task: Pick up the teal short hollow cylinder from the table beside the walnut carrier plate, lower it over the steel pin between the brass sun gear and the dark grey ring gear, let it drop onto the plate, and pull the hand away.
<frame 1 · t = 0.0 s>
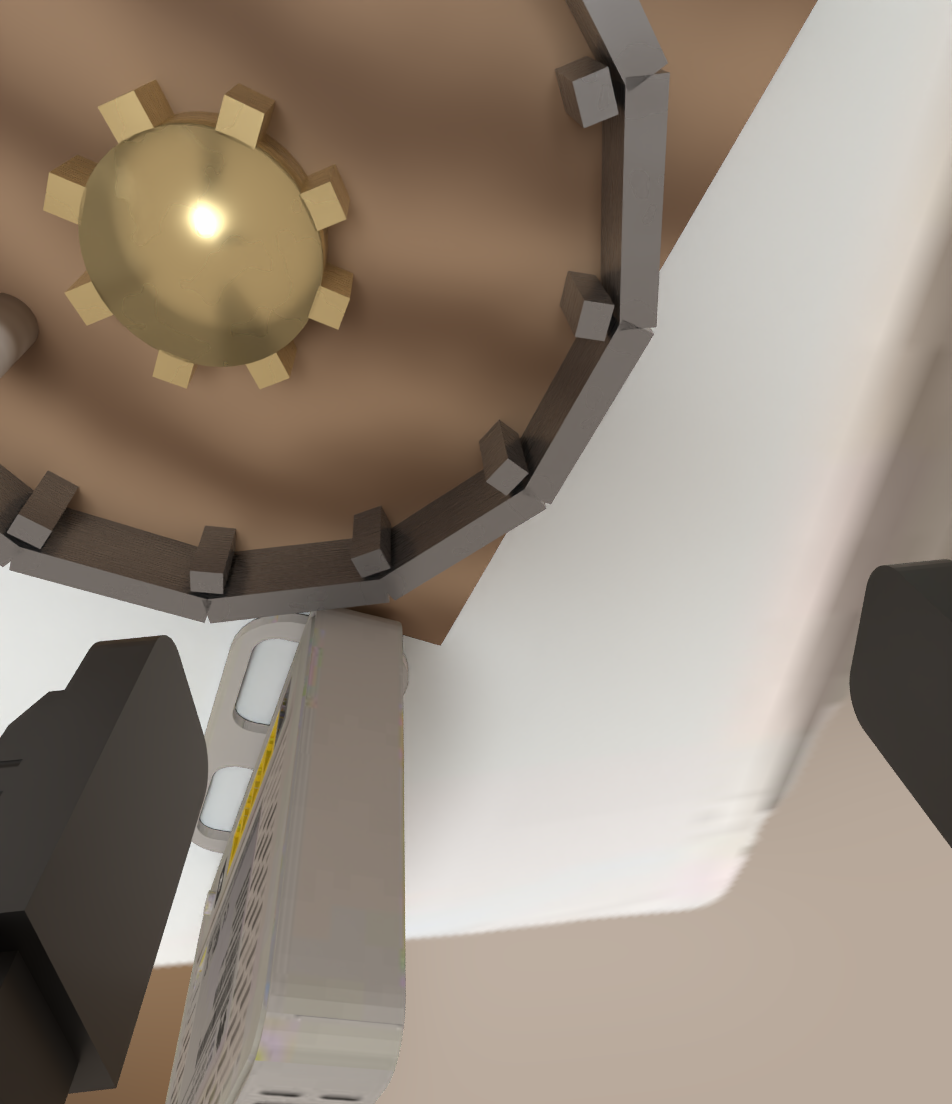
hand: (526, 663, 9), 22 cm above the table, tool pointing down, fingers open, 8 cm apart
carrier plate: (226, 221, 27), on the table
ring gear: (209, 246, 25), point 2 cm above the table
sun gear: (211, 244, 25), in the ring gear, point 2 cm above the table
network device: (288, 745, 43), on the table, touching carrier plate
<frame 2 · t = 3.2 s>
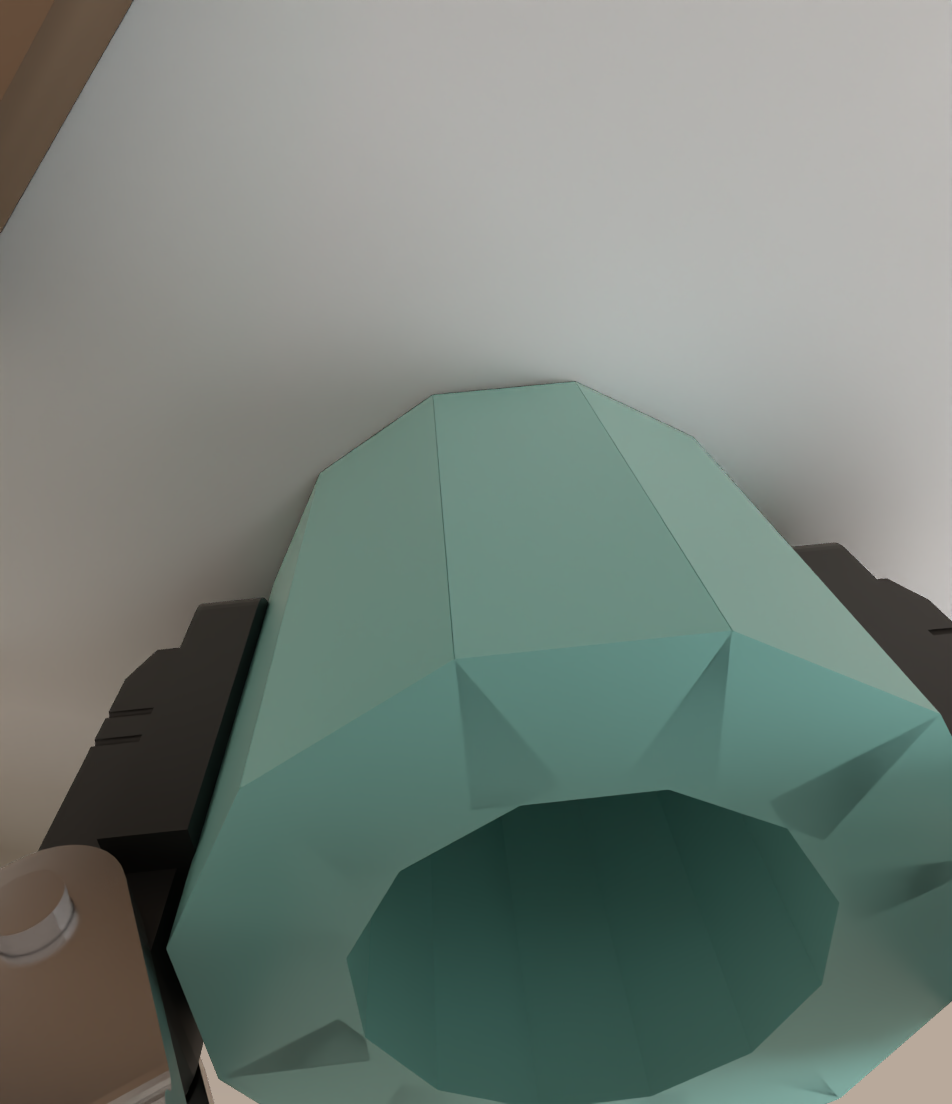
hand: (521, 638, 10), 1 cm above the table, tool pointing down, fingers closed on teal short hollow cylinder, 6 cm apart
teal short hollow cylinder: (517, 612, 10), on the table, touching gripper
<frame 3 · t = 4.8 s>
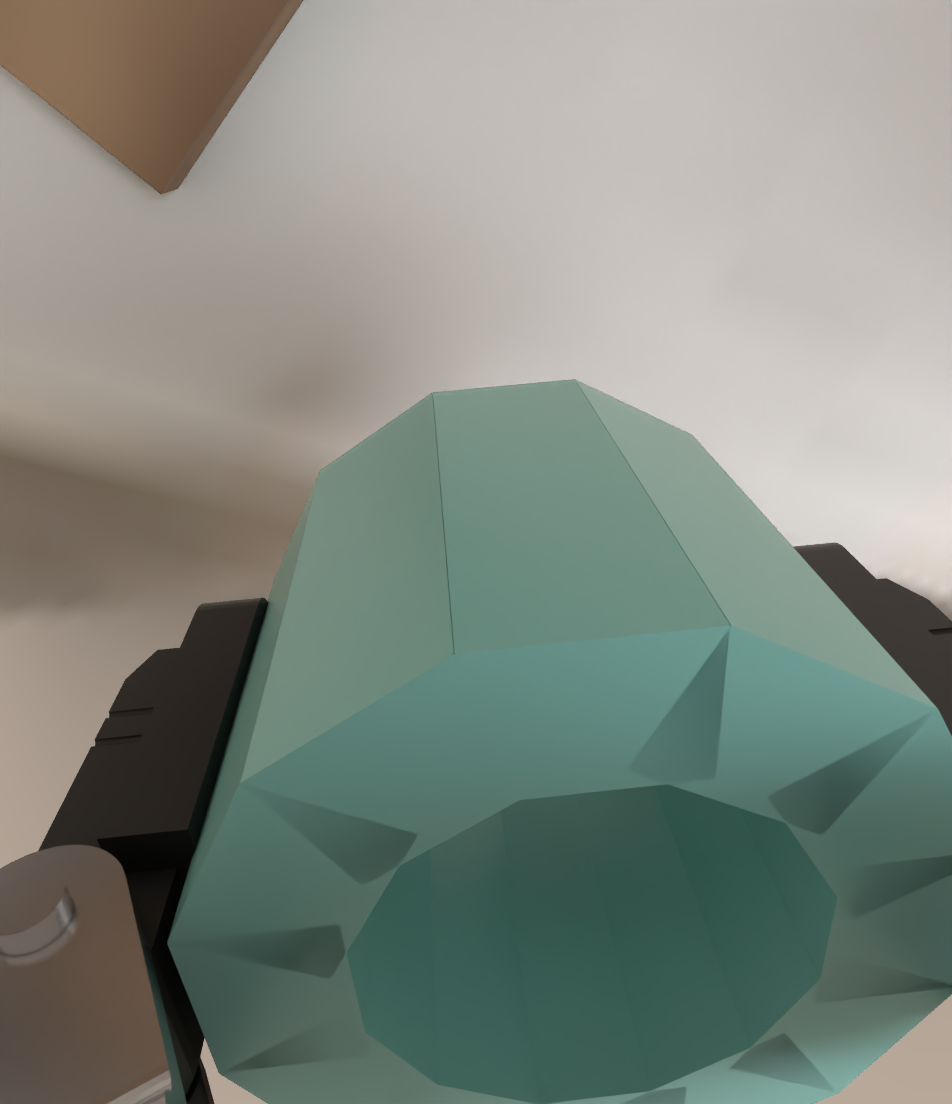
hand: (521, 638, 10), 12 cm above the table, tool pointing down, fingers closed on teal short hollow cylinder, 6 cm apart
teal short hollow cylinder: (516, 610, 10), point 12 cm above the table, touching gripper
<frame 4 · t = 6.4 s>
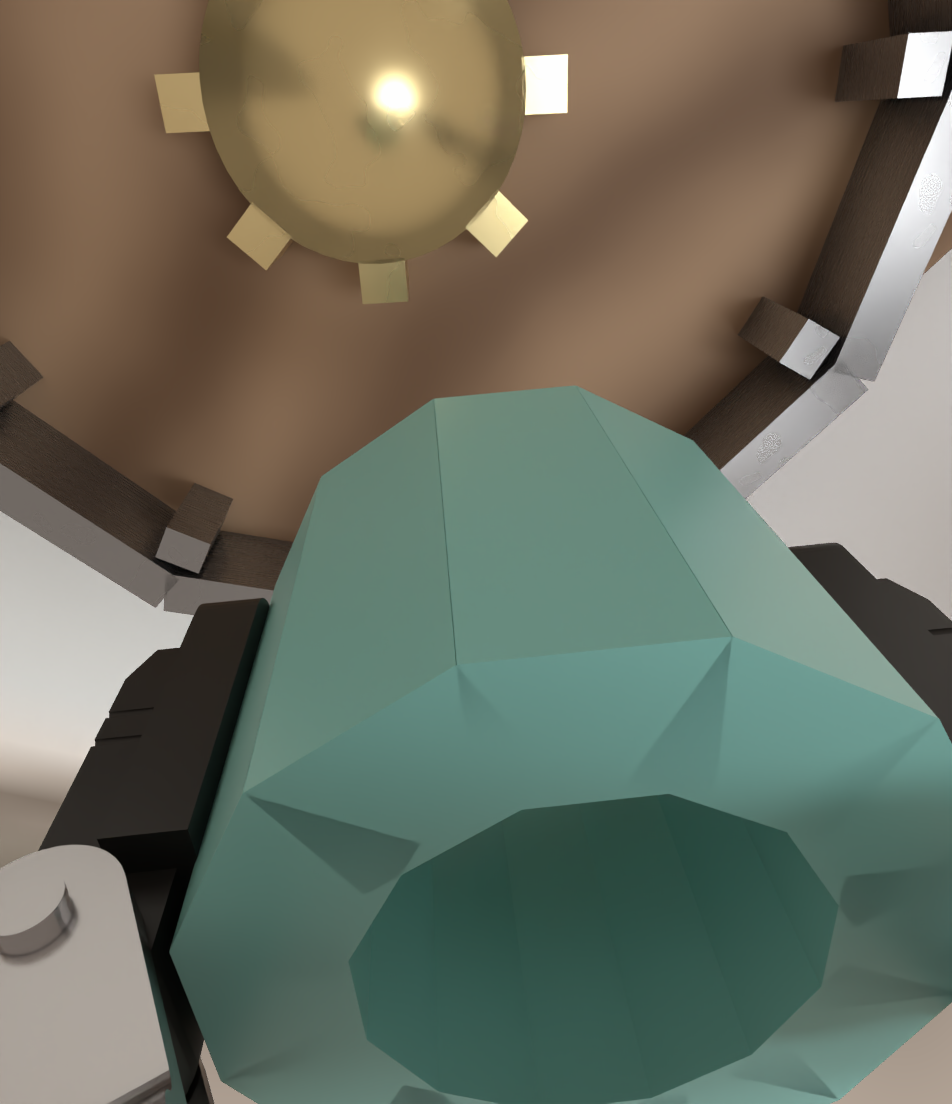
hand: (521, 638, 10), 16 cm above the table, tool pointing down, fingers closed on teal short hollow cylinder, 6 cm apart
carrier plate: (374, 99, 21), on the table
teal short hollow cylinder: (517, 615, 10), point 15 cm above the table, touching gripper
ring gear: (368, 95, 18), point 3 cm above the table
sun gear: (368, 95, 18), in the ring gear, point 3 cm above the table
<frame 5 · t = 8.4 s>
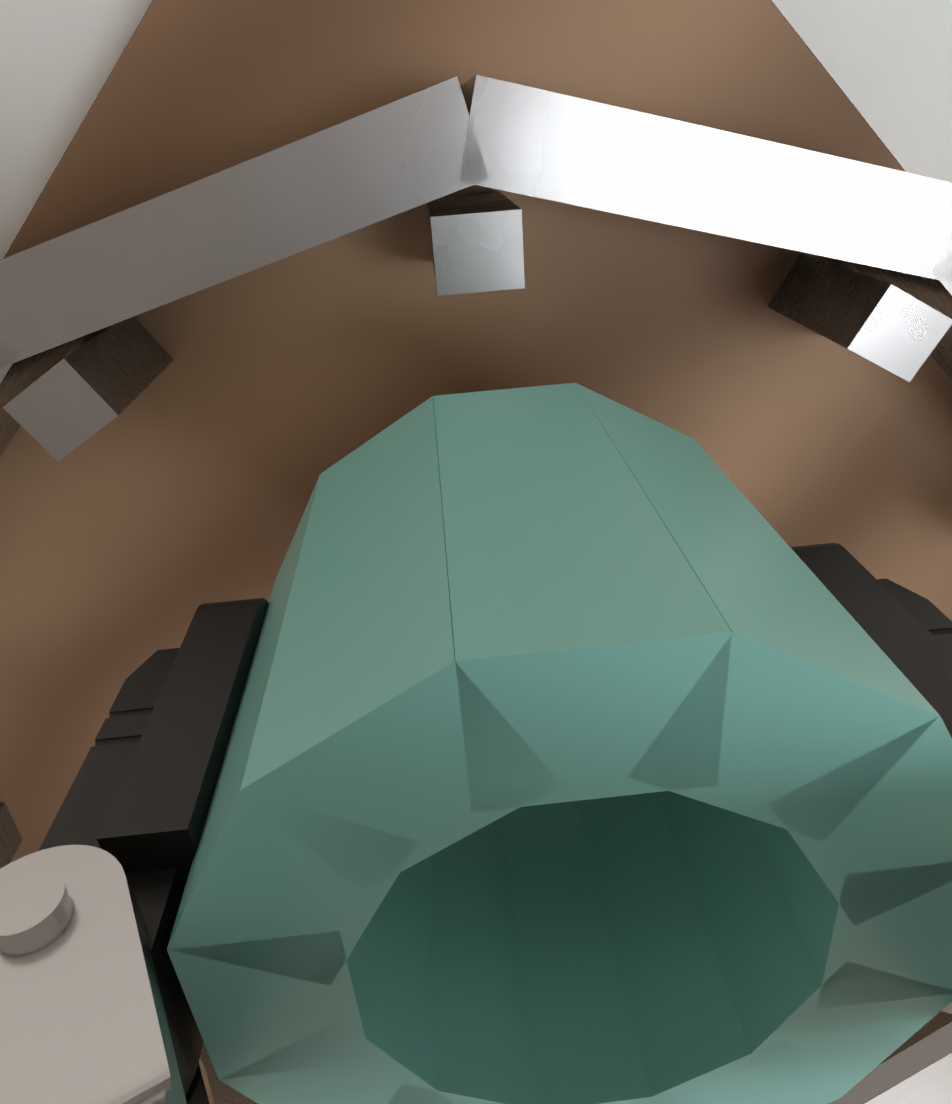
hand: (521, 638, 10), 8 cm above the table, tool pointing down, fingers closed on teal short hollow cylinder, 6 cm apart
carrier plate: (499, 728, 20), on the table
teal short hollow cylinder: (517, 613, 10), point 7 cm above the table, touching gripper
ring gear: (512, 817, 18), point 3 cm above the table
when the fingers open (4 cm above the table, at t = 9.8 s): teal short hollow cylinder drops 1 cm, resting on carrier plate.
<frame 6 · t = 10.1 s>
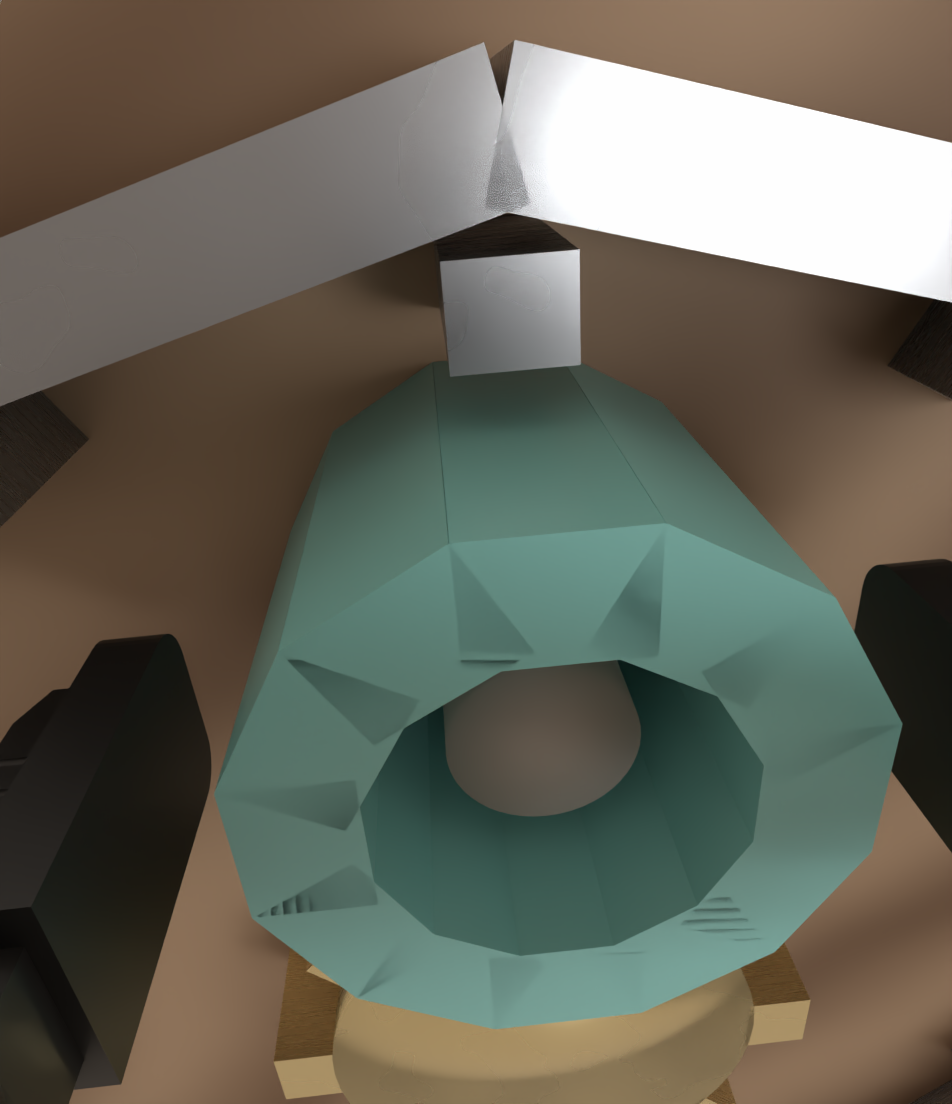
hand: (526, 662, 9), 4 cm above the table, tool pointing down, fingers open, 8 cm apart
carrier plate: (517, 855, 17), on the table
teal short hollow cylinder: (506, 560, 12), point 1 cm above the table, touching carrier plate
ring gear: (537, 992, 14), point 2 cm above the table
sun gear: (535, 979, 14), in the ring gear, point 2 cm above the table
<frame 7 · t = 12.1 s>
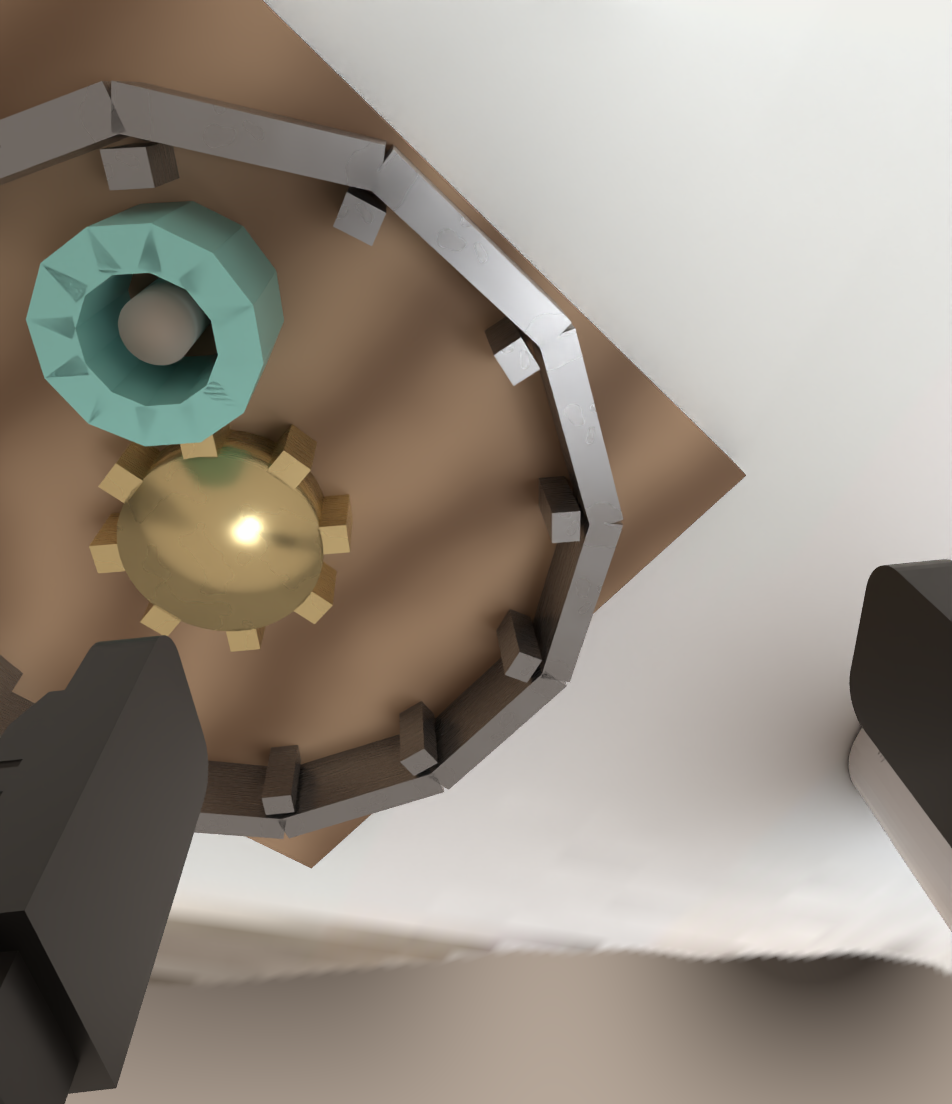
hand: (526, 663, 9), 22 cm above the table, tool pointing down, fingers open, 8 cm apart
carrier plate: (240, 499, 32), on the table
teal short hollow cylinder: (187, 301, 26), point 1 cm above the table, touching carrier plate
ring gear: (227, 535, 29), point 2 cm above the table
sun gear: (228, 532, 29), in the ring gear, point 2 cm above the table
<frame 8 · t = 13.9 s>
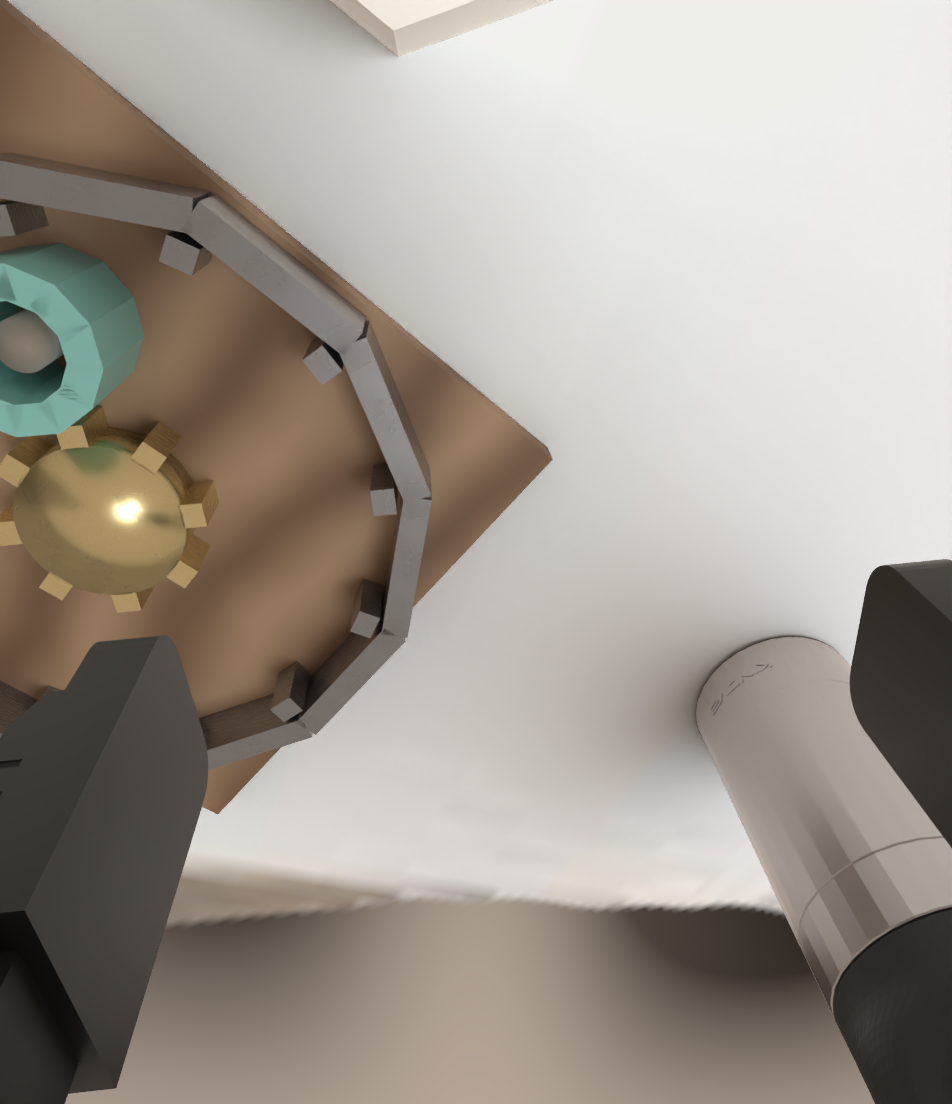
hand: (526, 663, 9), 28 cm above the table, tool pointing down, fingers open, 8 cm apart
carrier plate: (129, 487, 38), on the table
teal short hollow cylinder: (64, 322, 33), point 1 cm above the table, touching carrier plate
ring gear: (108, 514, 35), point 2 cm above the table
sun gear: (110, 512, 35), in the ring gear, point 2 cm above the table
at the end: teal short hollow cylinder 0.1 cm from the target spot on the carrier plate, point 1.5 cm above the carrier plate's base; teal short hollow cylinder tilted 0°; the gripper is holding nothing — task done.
